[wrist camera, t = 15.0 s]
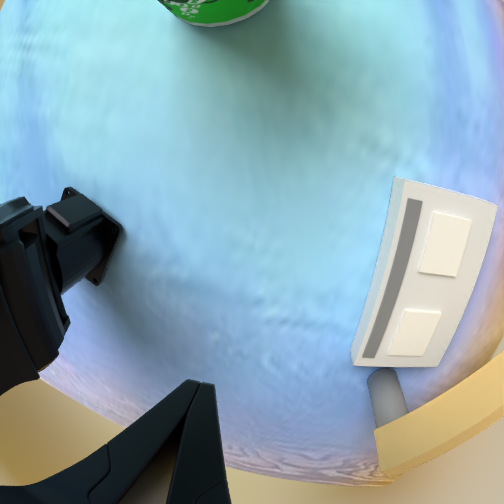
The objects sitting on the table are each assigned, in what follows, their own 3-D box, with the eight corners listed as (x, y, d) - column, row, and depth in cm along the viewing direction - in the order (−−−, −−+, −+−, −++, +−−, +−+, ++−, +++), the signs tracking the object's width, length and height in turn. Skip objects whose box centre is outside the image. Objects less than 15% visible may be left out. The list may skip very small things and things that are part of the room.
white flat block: (429, 352, 22) (438, 369, 19) (350, 349, 22) (353, 368, 20) (483, 199, 16) (499, 206, 14) (394, 175, 17) (406, 180, 15)
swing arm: (374, 392, 23) (391, 479, 15) (362, 378, 23) (378, 470, 14) (520, 290, 18) (577, 349, 9) (516, 268, 17) (581, 327, 8)
